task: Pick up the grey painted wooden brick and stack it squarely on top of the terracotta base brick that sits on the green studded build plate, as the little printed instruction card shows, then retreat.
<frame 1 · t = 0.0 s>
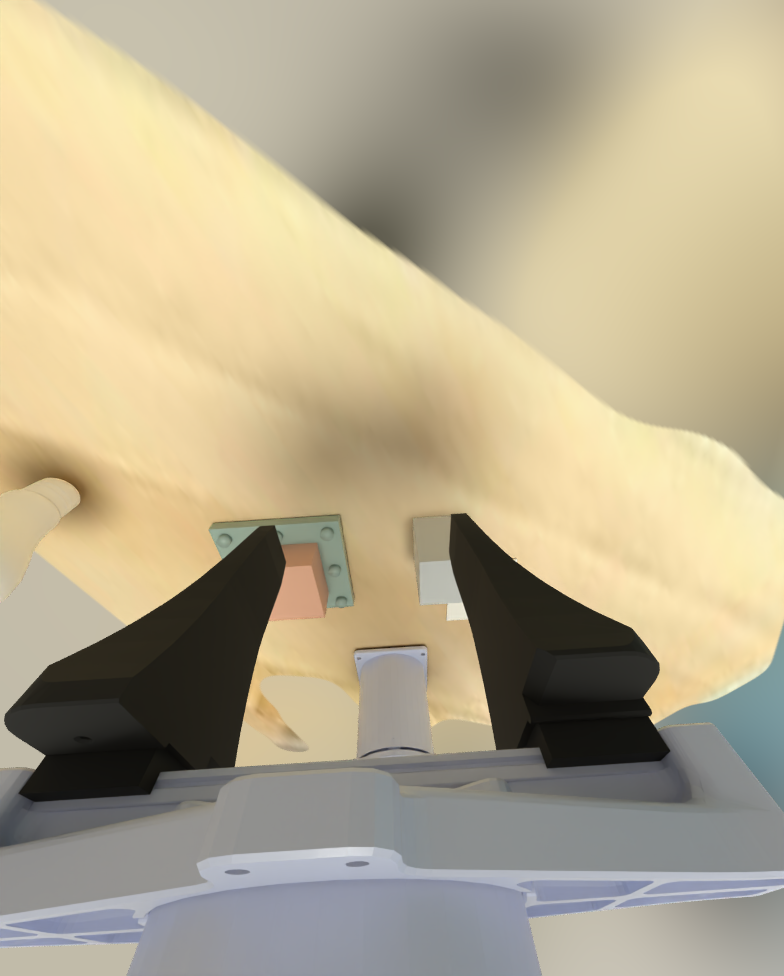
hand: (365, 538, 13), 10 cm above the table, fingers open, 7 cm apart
grey brick: (439, 536, 26), on the table
instruction card: (478, 590, 30), on the table
lightbulb: (71, 485, 23), on the table
build plate: (290, 564, 27), on the table
base brick: (288, 571, 26), point 1 cm above the table, touching build plate
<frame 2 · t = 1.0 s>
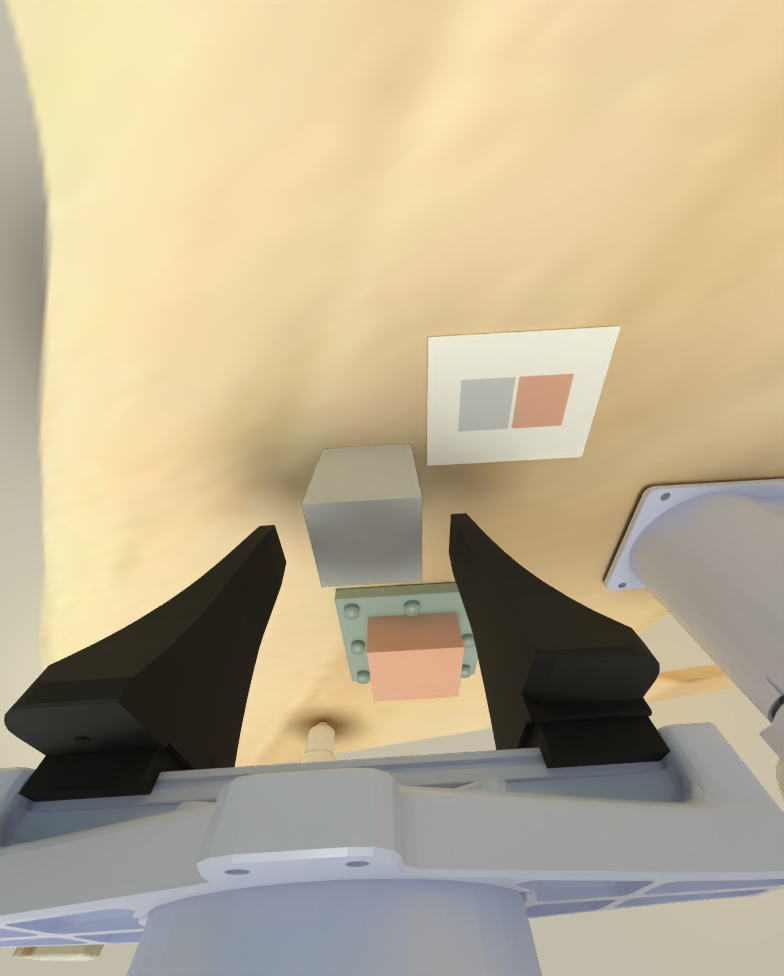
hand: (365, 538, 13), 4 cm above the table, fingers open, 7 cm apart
grey brick: (370, 483, 17), on the table
instruction card: (512, 402, 15), on the table
skincare box: (160, 747, 33), on the table
lightbulb: (323, 720, 31), on the table
build plate: (411, 630, 23), on the table
base brick: (412, 640, 23), point 1 cm above the table, touching build plate
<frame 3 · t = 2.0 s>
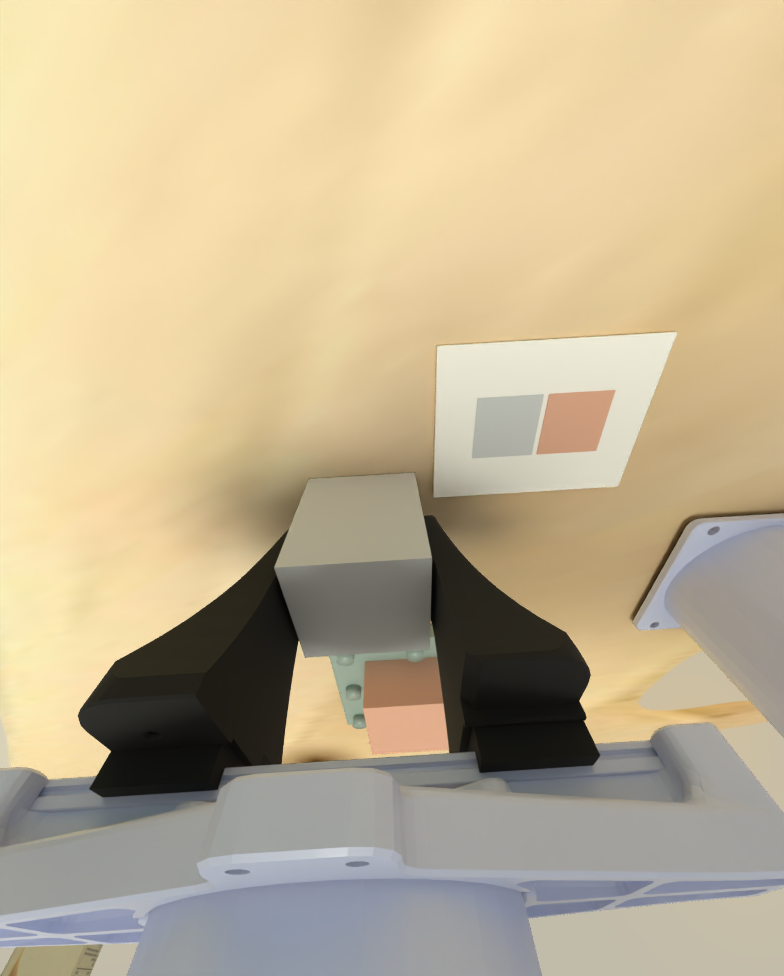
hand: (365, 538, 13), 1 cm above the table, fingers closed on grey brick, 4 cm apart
grey brick: (366, 518, 14), on the table, touching gripper
instruction card: (537, 424, 12), on the table
skincare box: (139, 787, 30), on the table
build plate: (414, 671, 21), on the table
base brick: (415, 684, 20), point 1 cm above the table, touching build plate
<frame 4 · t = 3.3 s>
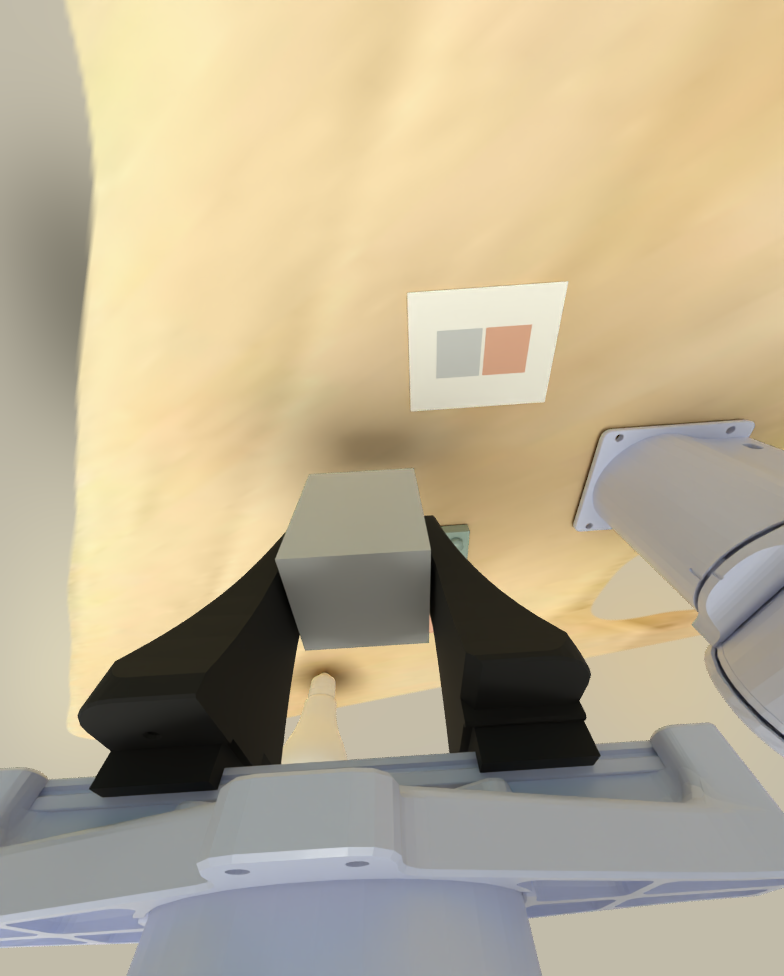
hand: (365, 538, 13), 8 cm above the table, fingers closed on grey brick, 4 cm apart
grey brick: (366, 513, 14), point 7 cm above the table, touching gripper
instruction card: (481, 352, 17), on the table
lightbulb: (325, 672, 33), on the table
build plate: (403, 576, 26), on the table
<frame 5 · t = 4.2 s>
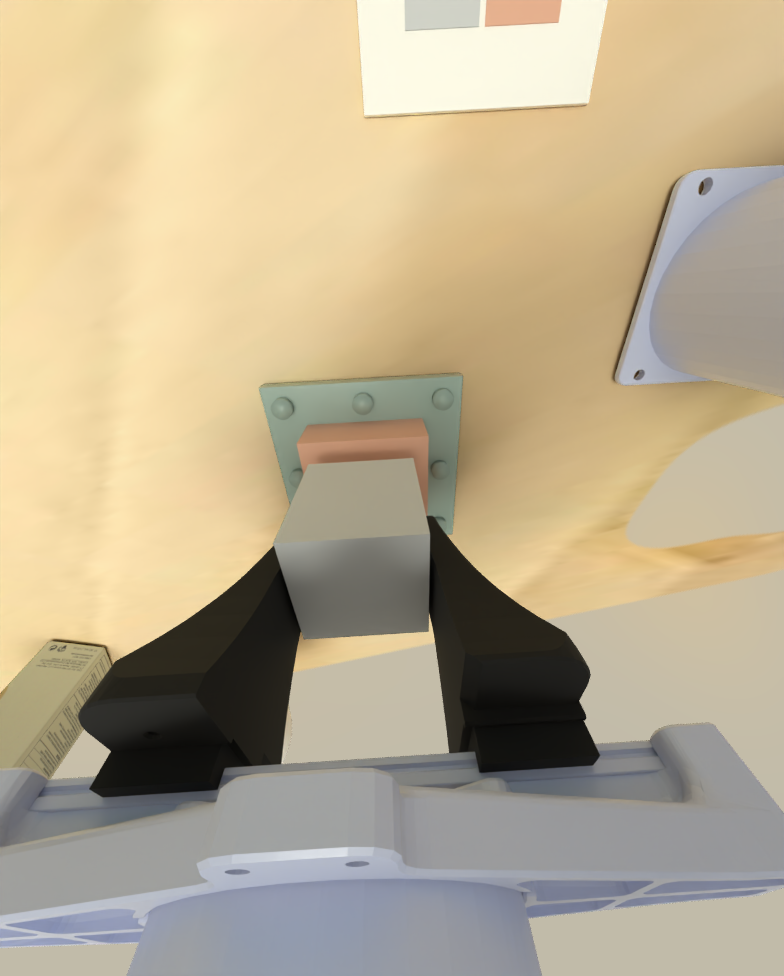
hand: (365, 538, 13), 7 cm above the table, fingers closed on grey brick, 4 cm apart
grey brick: (365, 504, 14), point 5 cm above the table, touching gripper
skincare box: (88, 660, 28), on the table
build plate: (370, 465, 18), on the table
base brick: (369, 471, 18), point 1 cm above the table, touching build plate
when the fingers open (6 cm above the table, at t = 4.7 s): grey brick stays where it is, resting on base brick.
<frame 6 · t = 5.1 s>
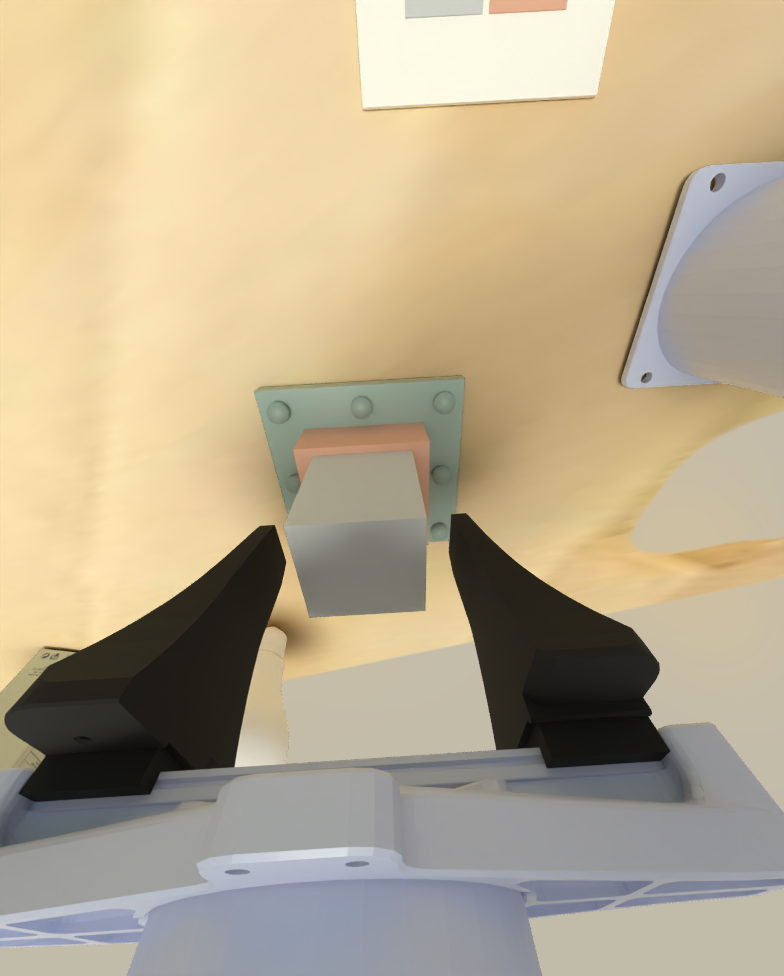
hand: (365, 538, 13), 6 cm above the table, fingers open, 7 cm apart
grey brick: (366, 494, 15), point 3 cm above the table, touching base brick
skincare box: (81, 667, 27), on the table
lightbulb: (274, 626, 25), on the table
build plate: (369, 470, 18), on the table
base brick: (368, 477, 17), point 1 cm above the table, touching build plate, grey brick
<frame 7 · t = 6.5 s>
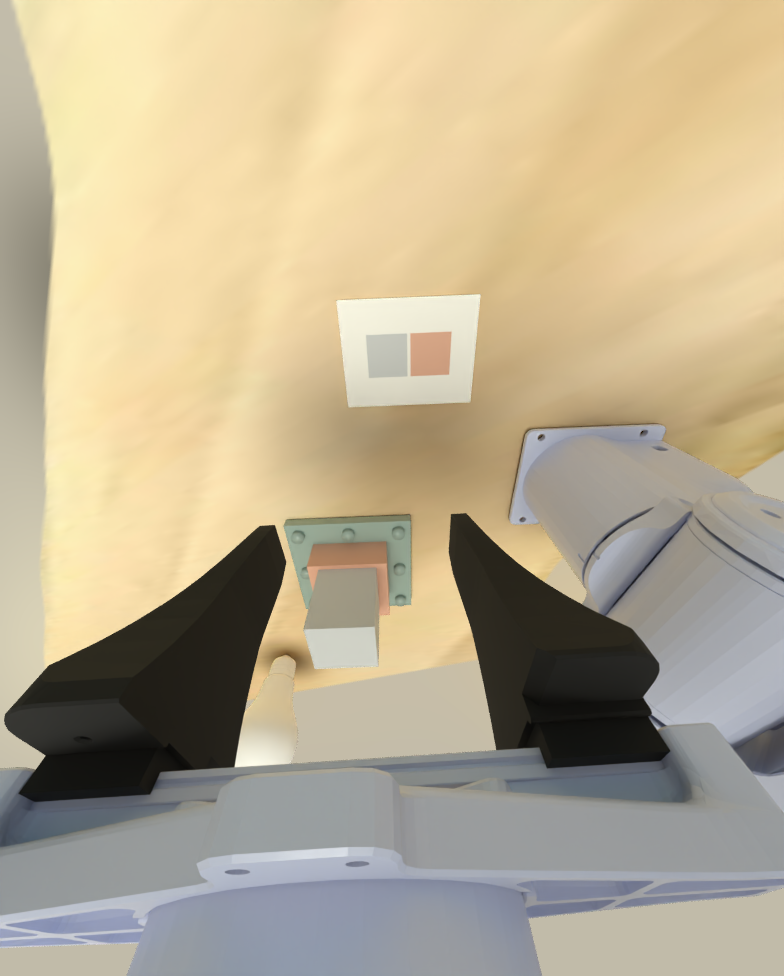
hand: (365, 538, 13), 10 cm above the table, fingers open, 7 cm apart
grey brick: (350, 588, 25), point 3 cm above the table, touching base brick
instruction card: (408, 355, 19), on the table
lightbulb: (287, 654, 35), on the table
build plate: (354, 562, 28), on the table
base brick: (353, 569, 27), point 1 cm above the table, touching build plate, grey brick
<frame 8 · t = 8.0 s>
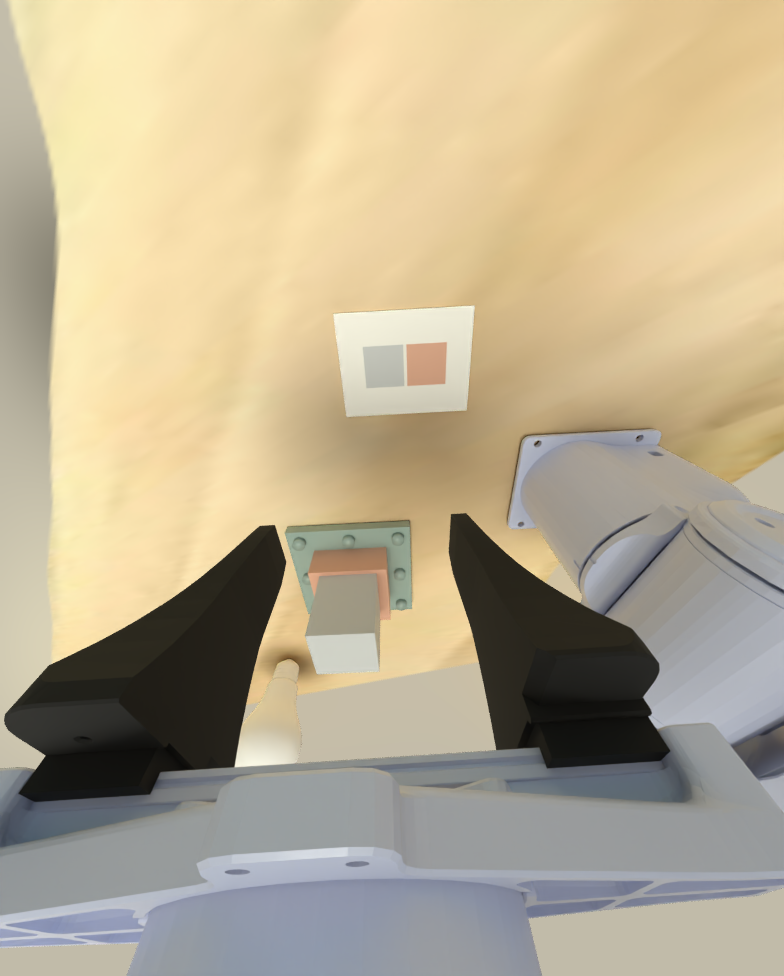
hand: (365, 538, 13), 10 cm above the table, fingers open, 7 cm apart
grey brick: (351, 594, 25), point 3 cm above the table, touching base brick
instruction card: (405, 365, 19), on the table
lightbulb: (290, 658, 35), on the table
build plate: (355, 567, 28), on the table
base brick: (354, 574, 27), point 1 cm above the table, touching build plate, grey brick
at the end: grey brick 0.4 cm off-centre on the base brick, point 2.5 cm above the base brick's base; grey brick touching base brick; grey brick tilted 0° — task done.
